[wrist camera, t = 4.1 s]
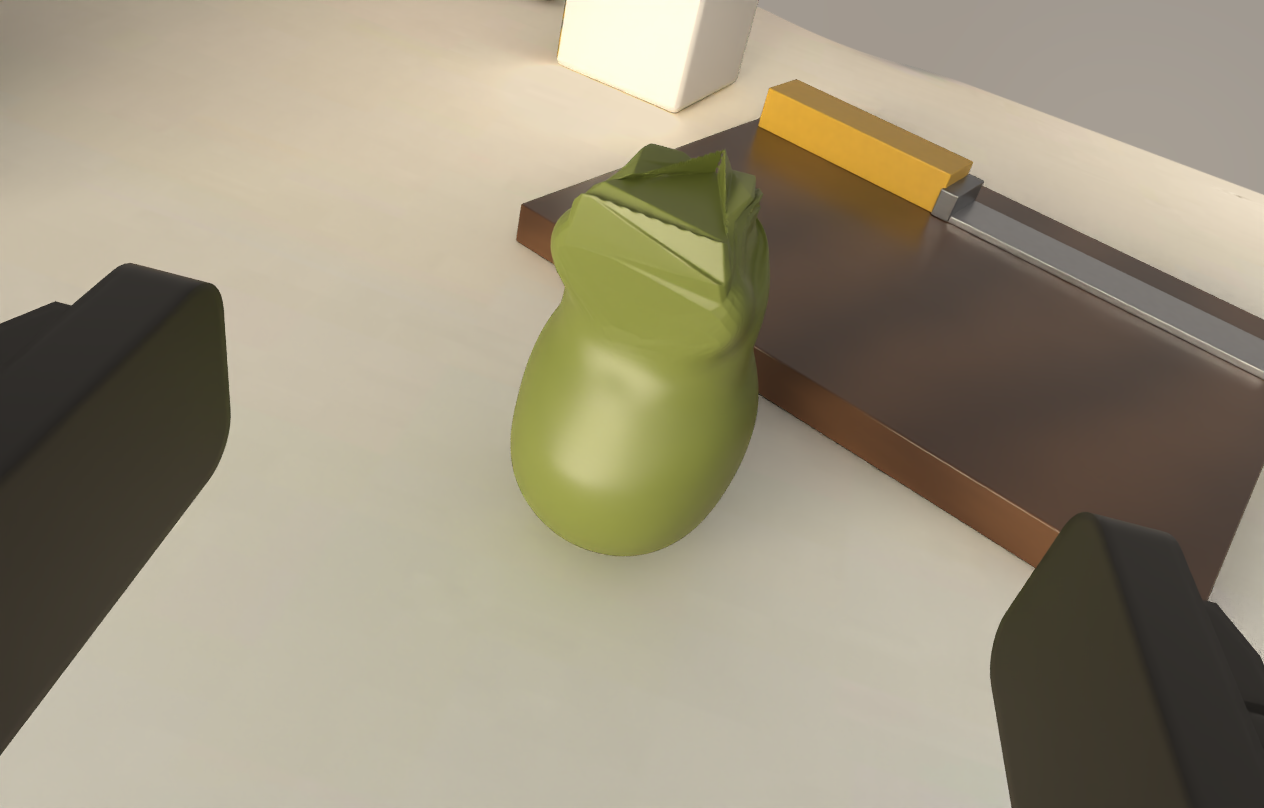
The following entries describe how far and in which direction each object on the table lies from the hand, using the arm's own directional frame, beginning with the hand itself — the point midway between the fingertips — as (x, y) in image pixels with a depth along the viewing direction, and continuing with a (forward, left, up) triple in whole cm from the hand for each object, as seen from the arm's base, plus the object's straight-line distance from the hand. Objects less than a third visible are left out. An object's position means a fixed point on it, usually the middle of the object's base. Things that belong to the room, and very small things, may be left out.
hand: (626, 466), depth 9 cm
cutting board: (-5, +28, -12) cm, 31 cm away
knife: (-5, +34, -10) cm, 36 cm away
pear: (-6, +10, -12) cm, 16 cm away
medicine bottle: (-25, +36, -12) cm, 45 cm away
